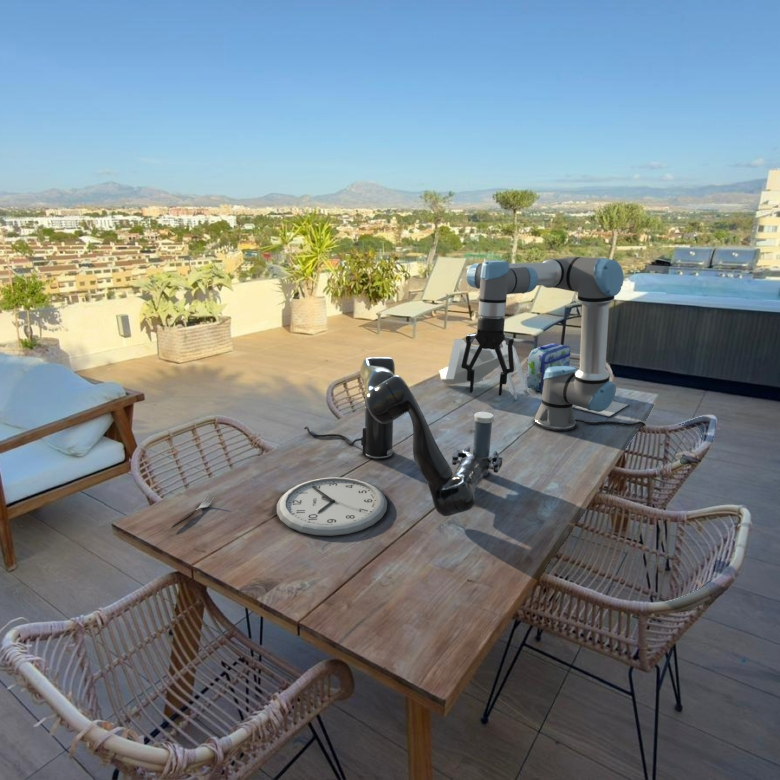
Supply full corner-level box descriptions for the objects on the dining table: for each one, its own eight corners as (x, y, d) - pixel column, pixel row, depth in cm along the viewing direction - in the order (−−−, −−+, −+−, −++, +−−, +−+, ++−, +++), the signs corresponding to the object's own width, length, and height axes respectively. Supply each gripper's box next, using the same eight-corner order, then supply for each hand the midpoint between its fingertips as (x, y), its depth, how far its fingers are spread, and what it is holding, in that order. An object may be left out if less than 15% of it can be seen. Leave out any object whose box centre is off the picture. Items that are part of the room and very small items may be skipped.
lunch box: (542, 395, 240) (547, 351, 233) (522, 390, 247) (526, 347, 241) (569, 384, 257) (575, 343, 251) (550, 380, 264) (554, 339, 258)
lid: (488, 416, 161) (488, 411, 161) (496, 422, 156) (497, 417, 156) (471, 417, 160) (471, 412, 159) (478, 424, 155) (479, 419, 154)
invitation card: (608, 416, 214) (573, 407, 224) (608, 416, 214) (573, 408, 224) (628, 404, 229) (594, 396, 238) (628, 405, 229) (594, 397, 238)
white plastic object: (461, 429, 252) (437, 405, 227) (444, 352, 274) (420, 323, 250) (535, 404, 240) (518, 377, 215) (510, 326, 262) (492, 293, 237)
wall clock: (392, 527, 129) (268, 531, 127) (391, 533, 130) (269, 537, 127) (383, 473, 158) (282, 475, 155) (383, 478, 158) (282, 480, 156)
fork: (167, 528, 130) (166, 521, 130) (209, 498, 145) (208, 492, 144) (175, 530, 130) (174, 523, 129) (216, 500, 144) (216, 494, 143)
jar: (483, 468, 166) (488, 413, 161) (490, 475, 162) (495, 418, 156) (469, 470, 165) (472, 414, 159) (475, 477, 160) (479, 419, 155)
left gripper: (495, 465, 145) (506, 444, 159) (446, 456, 150) (460, 436, 164) (493, 489, 147) (504, 466, 161) (444, 480, 152) (459, 458, 166)
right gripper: (529, 316, 149) (521, 392, 156) (457, 312, 155) (453, 386, 161) (528, 321, 143) (520, 400, 149) (453, 316, 148) (449, 393, 155)
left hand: (482, 451), depth 163 cm, fingers open, 8 cm apart
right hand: (485, 392), depth 155 cm, fingers open, 8 cm apart
